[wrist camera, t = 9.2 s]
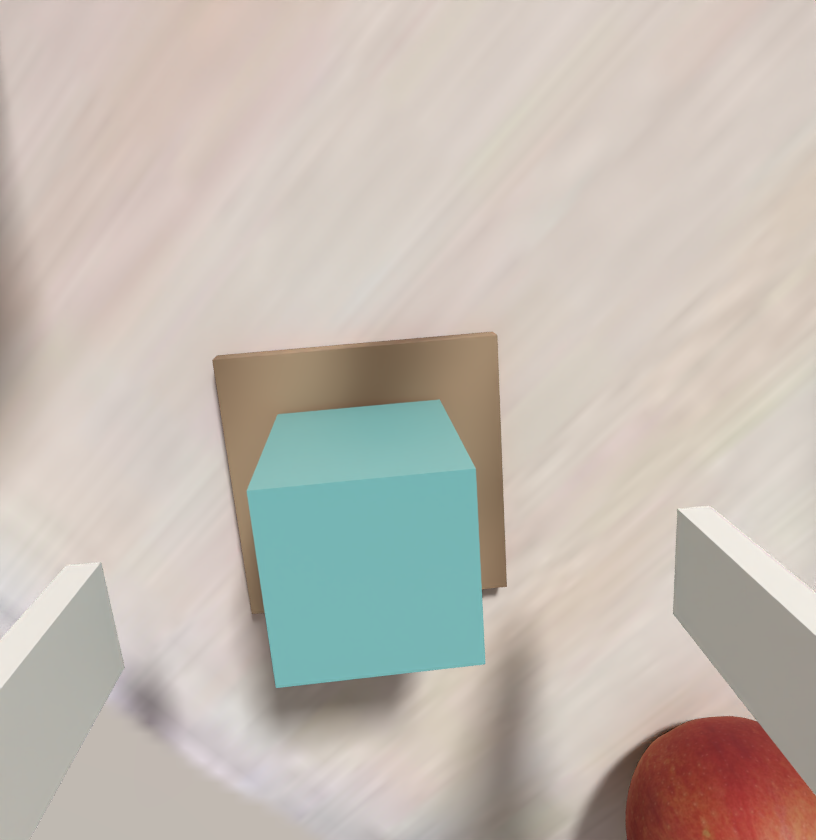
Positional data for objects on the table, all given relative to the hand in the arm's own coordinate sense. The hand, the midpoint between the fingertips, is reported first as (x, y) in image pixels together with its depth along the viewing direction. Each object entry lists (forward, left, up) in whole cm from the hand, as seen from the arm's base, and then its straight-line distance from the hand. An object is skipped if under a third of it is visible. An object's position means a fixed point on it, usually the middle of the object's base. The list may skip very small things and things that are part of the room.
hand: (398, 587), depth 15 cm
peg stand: (0, 0, -8) cm, 8 cm away
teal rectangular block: (+1, 0, -7) cm, 7 cm away
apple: (-12, +14, -8) cm, 20 cm away
